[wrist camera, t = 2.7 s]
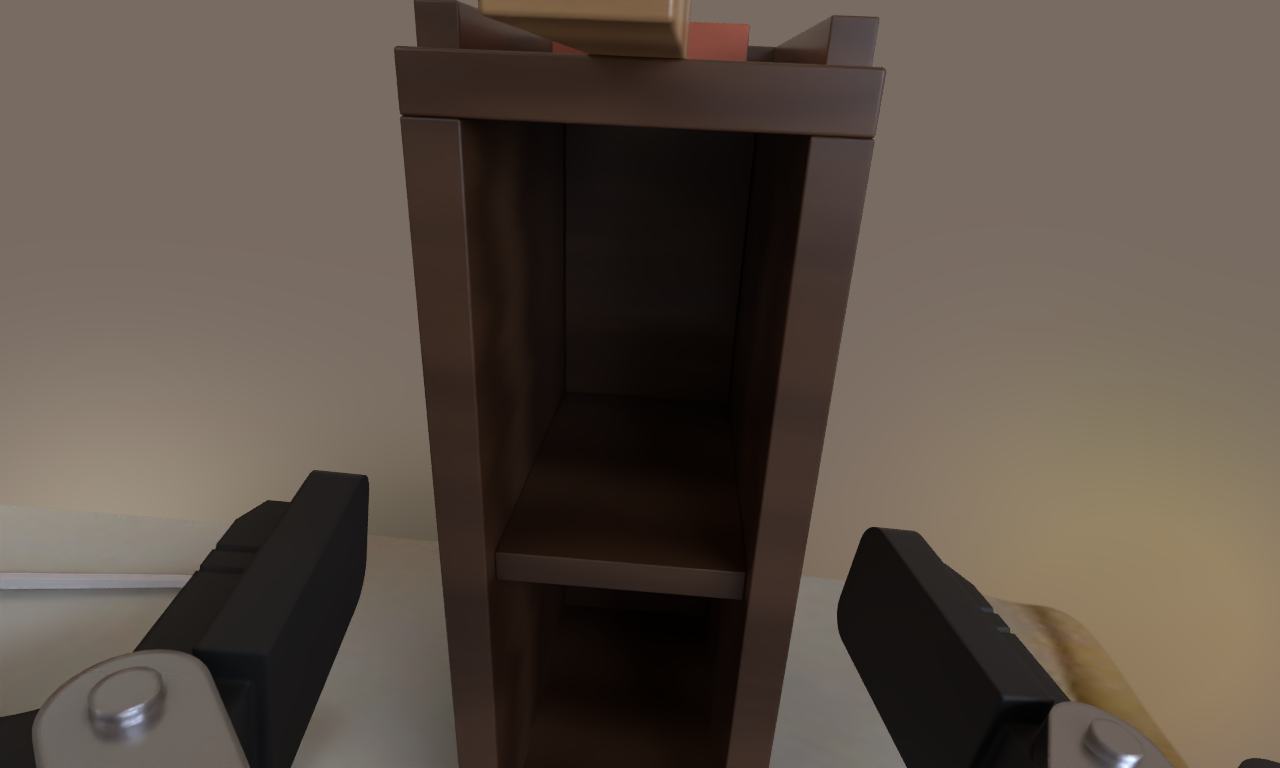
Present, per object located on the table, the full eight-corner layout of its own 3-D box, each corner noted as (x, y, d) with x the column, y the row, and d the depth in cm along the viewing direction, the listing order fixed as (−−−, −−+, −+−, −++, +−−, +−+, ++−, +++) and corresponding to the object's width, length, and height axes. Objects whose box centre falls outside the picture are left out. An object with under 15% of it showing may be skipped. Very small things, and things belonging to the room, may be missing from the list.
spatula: (828, 30, 8) (855, -182, 7) (331, 9, 8) (307, -196, 8) (732, 74, 28) (737, 20, 27) (588, 68, 28) (589, 14, 28)
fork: (187, 605, 43) (180, 581, 42) (-158, 611, 42) (-172, 586, 41) (212, 572, 46) (207, 549, 45) (-109, 576, 45) (-120, 552, 44)
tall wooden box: (746, 901, 29) (897, 10, 16) (467, 870, 29) (386, -11, 16) (729, 627, 43) (799, 49, 30) (543, 611, 44) (532, 38, 31)
